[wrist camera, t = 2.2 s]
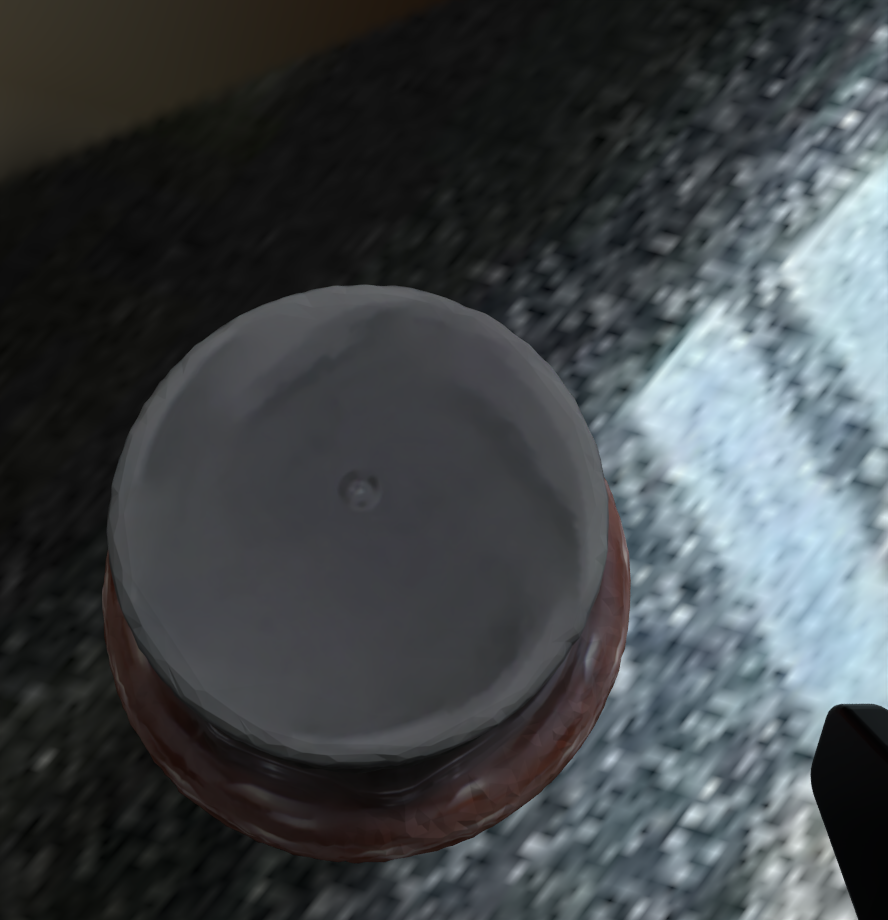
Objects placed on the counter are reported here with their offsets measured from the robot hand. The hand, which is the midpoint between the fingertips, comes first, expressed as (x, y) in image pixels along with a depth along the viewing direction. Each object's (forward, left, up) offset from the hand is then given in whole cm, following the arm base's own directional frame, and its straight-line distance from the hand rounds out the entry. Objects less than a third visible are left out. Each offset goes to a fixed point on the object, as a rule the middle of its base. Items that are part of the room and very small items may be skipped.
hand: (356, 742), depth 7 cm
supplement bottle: (+2, 0, -9) cm, 10 cm away
